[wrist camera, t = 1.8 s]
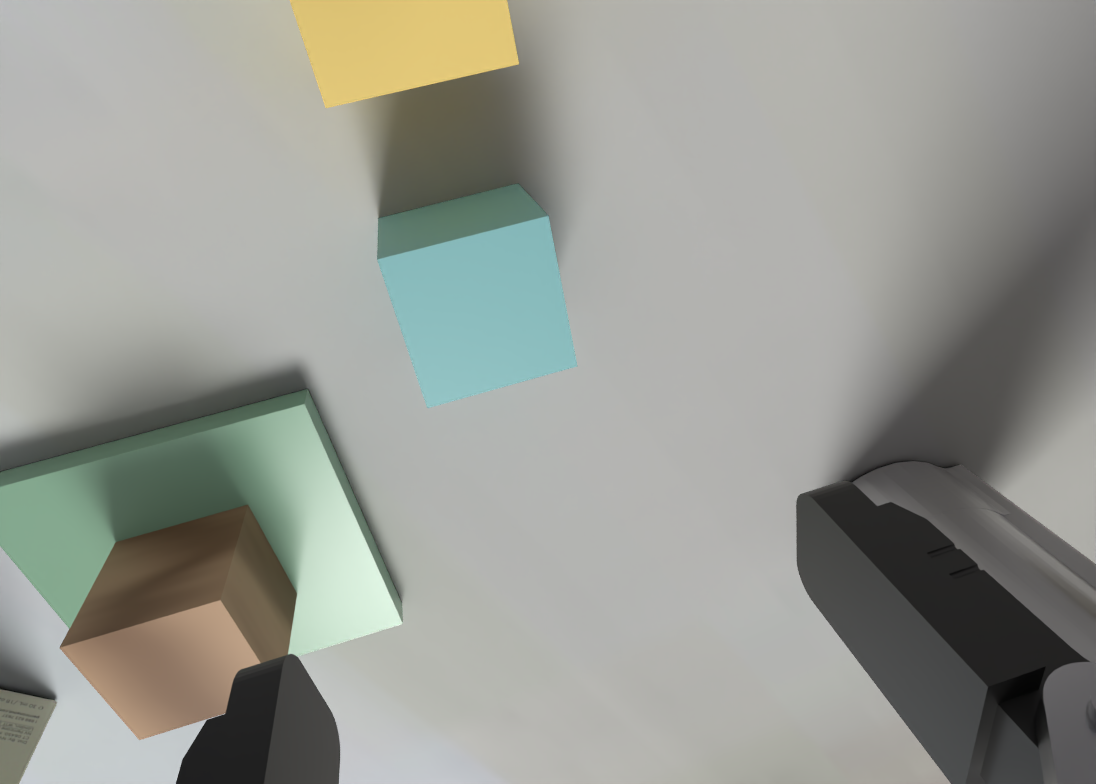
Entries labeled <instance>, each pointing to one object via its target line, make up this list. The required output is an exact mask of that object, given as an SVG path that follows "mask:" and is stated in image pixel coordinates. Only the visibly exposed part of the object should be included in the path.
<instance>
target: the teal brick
mask: <svg viewBox="0 0 1096 784" xmlns="http://www.w3.org/2000/svg"><path fill="white" fill-rule="evenodd" d="M377 260H378V263H379V266H380V269H381V272H382V275H383V278H384V281H385V284H386V287H387V290H388V293H389V296H390V299H391V302H392V305H393V308H394V311H395V314H396V317H397V319H398V322H399V325H400V328H401V331H402V334H403V337H404V340H405V343H406V346H407V349H408V352H409V355H410V358H411V361H412V364H413V367H414V370H415V373H416V376H417V379H418V382H419V385H420V388H421V391H422V394H423V397H424V399H425V402H426V405H427V408H430V407H433V406H437V405H441V404H444V403H448V402H451V401H455V400H458V399H462V398H466V397H469V396H473V395H476V394H480V393H483V392H487V391H491V390H494V389H498V388H501V387H505V386H508V385H512V384H516V383H519V382H523V381H526V380H530V379H534V378H537V377H541V376H544V375H548V374H551V373H555V372H559V371H562V370H566V369H569V368H573V367H576V366H577V362H576V357H575V351H574V346H573V341H572V336H571V331H570V325H569V320H568V315H567V310H566V305H565V299H564V294H563V289H562V284H561V279H560V273H559V268H558V263H557V258H556V253H555V247H554V242H553V237H552V232H551V227H550V221H549V216H548V215H547V214H546V213H545V212H544V211H543V209H542V208H541V207H540V206H539V205H538V204H537V203H536V202H535V201H534V200H533V199H532V198H531V197H530V196H529V194H528V193H527V192H526V191H525V190H524V189H523V188H522V187H521V186H520V185H519V184H514V185H510V186H506V187H502V188H498V189H494V190H490V191H486V192H482V193H477V194H473V195H469V196H465V197H461V198H457V199H453V200H449V201H445V202H441V203H437V204H433V205H429V206H425V207H421V208H417V209H413V210H409V211H405V212H401V213H397V214H393V215H389V216H385V217H381V218H378V251H377Z"/></svg>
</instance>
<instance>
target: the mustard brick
mask: <svg viewBox="0 0 1096 784" xmlns="http://www.w3.org/2000/svg"><path fill="white" fill-rule="evenodd" d="M290 3H291V6H292V9H293V12H294V15H295V18H296V21H297V24H298V27H299V30H300V33H301V36H302V39H303V41H304V44H305V47H306V50H307V53H308V56H309V59H310V62H311V65H312V68H313V71H314V74H315V77H316V80H317V83H318V86H319V89H320V92H321V95H322V98H323V101H324V104H325V107H326V108H329V107H333V106H338V105H342V104H346V103H351V102H355V101H360V100H364V99H368V98H373V97H377V96H382V95H386V94H390V93H395V92H399V91H404V90H408V89H412V88H417V87H421V86H426V85H430V84H434V83H439V82H443V81H447V80H452V79H456V78H461V77H465V76H469V75H474V74H478V73H483V72H487V71H491V70H496V69H500V68H505V67H509V66H513V65H518V64H519V61H518V56H517V51H516V45H515V40H514V35H513V29H512V24H511V19H510V13H509V8H508V3H507V0H290Z"/></svg>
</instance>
